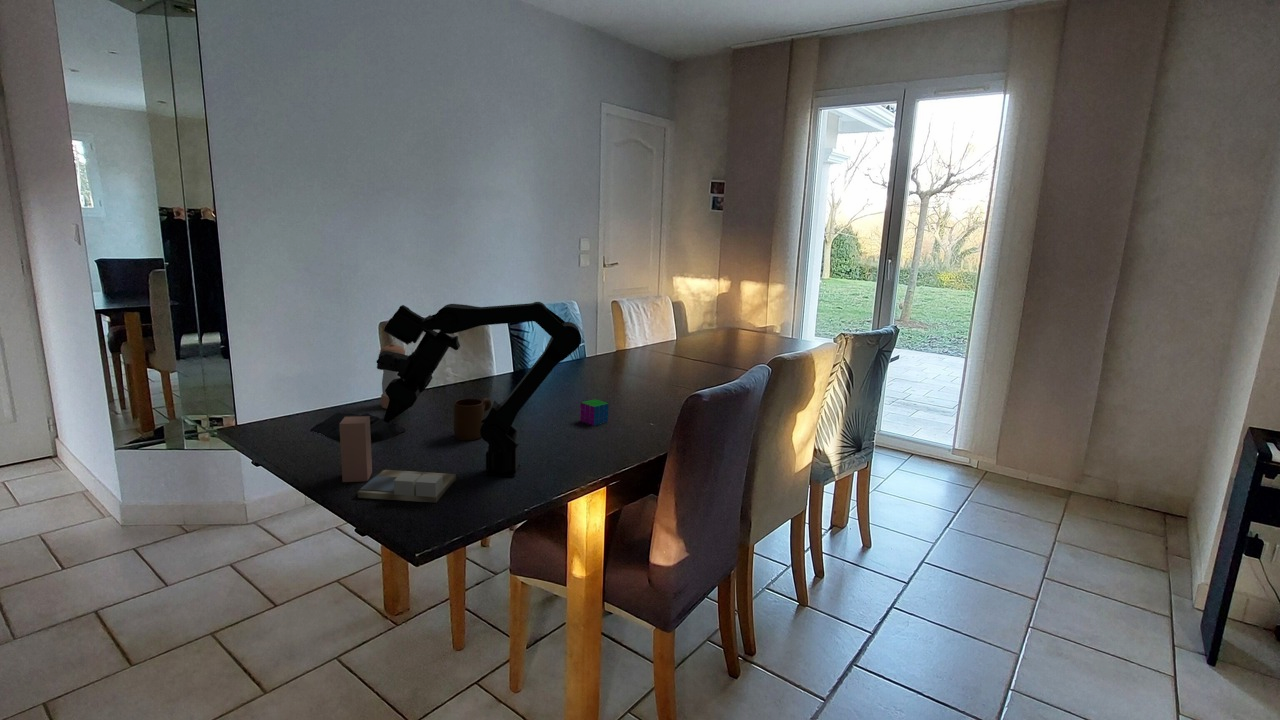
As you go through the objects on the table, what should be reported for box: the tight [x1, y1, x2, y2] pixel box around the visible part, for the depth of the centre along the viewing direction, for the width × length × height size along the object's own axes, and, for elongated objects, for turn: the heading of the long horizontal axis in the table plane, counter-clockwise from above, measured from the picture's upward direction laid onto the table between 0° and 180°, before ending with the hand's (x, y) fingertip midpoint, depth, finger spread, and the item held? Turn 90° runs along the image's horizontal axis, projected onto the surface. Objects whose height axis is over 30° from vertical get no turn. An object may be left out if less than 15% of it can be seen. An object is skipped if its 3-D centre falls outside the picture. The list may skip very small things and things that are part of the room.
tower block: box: [339, 416, 373, 483], centre depth 135 cm, size 5×5×13 cm
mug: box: [453, 397, 492, 441], centre depth 166 cm, size 12×8×9 cm, turn 152°
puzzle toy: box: [579, 398, 610, 426], centre depth 182 cm, size 6×6×6 cm
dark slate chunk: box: [310, 412, 406, 444], centre depth 164 cm, size 15×22×5 cm
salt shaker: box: [379, 342, 406, 410], centre depth 186 cm, size 7×7×19 cm
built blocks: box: [394, 473, 443, 497], centre depth 127 cm, size 8×4×3 cm, turn 87°
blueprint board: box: [357, 469, 457, 503], centre depth 132 cm, size 16×12×1 cm
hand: (391, 415), depth 137 cm, fingers open, 9 cm apart
